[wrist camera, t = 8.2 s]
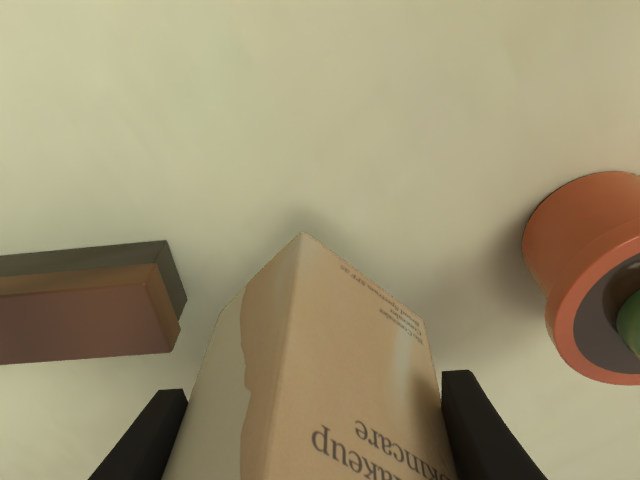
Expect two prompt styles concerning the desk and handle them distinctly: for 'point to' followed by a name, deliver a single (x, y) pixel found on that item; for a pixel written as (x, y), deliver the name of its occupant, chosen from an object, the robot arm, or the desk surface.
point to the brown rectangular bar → (89, 303)
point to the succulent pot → (591, 273)
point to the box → (314, 382)
